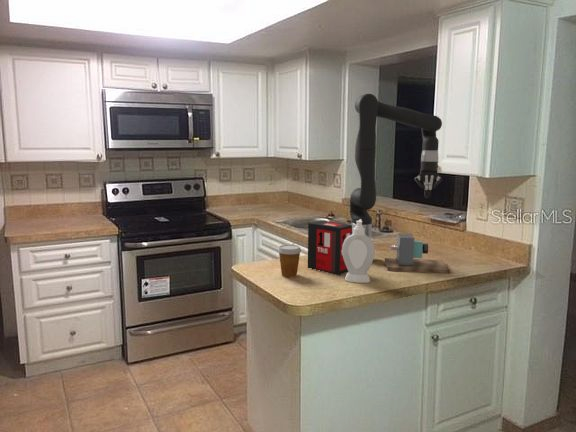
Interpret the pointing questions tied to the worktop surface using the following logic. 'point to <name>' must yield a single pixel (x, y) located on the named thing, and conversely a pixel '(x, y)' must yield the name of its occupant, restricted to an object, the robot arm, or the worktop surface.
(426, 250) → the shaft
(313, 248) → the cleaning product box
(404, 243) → the housing
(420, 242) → the block
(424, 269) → the base board
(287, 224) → the worktop surface
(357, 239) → the soap bottle
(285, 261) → the disposable coffee cup
